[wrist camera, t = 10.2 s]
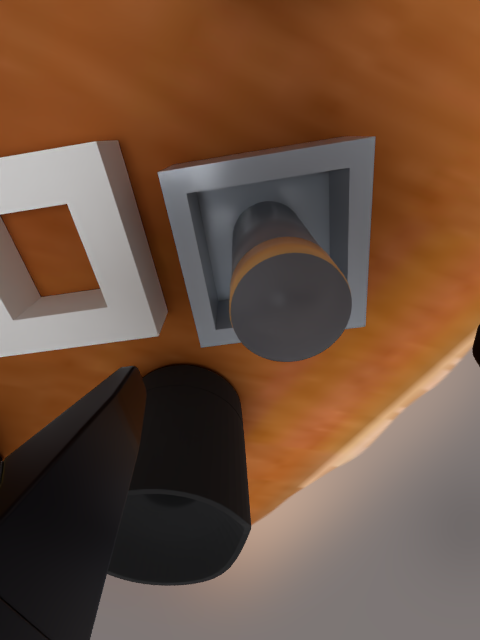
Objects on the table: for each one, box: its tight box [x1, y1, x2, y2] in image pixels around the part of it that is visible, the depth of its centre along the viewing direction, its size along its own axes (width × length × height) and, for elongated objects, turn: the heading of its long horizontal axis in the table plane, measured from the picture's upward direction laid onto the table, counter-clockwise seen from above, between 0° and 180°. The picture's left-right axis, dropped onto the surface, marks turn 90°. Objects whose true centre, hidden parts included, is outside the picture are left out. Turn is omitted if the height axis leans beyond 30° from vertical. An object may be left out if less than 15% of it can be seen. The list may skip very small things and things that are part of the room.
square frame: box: [0, 140, 168, 357], centre depth 18 cm, size 10×10×3 cm
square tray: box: [158, 136, 375, 348], centre depth 17 cm, size 9×9×4 cm
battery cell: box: [229, 201, 352, 362], centre depth 15 cm, size 4×4×9 cm
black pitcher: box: [107, 365, 251, 585], centre depth 21 cm, size 9×9×10 cm
